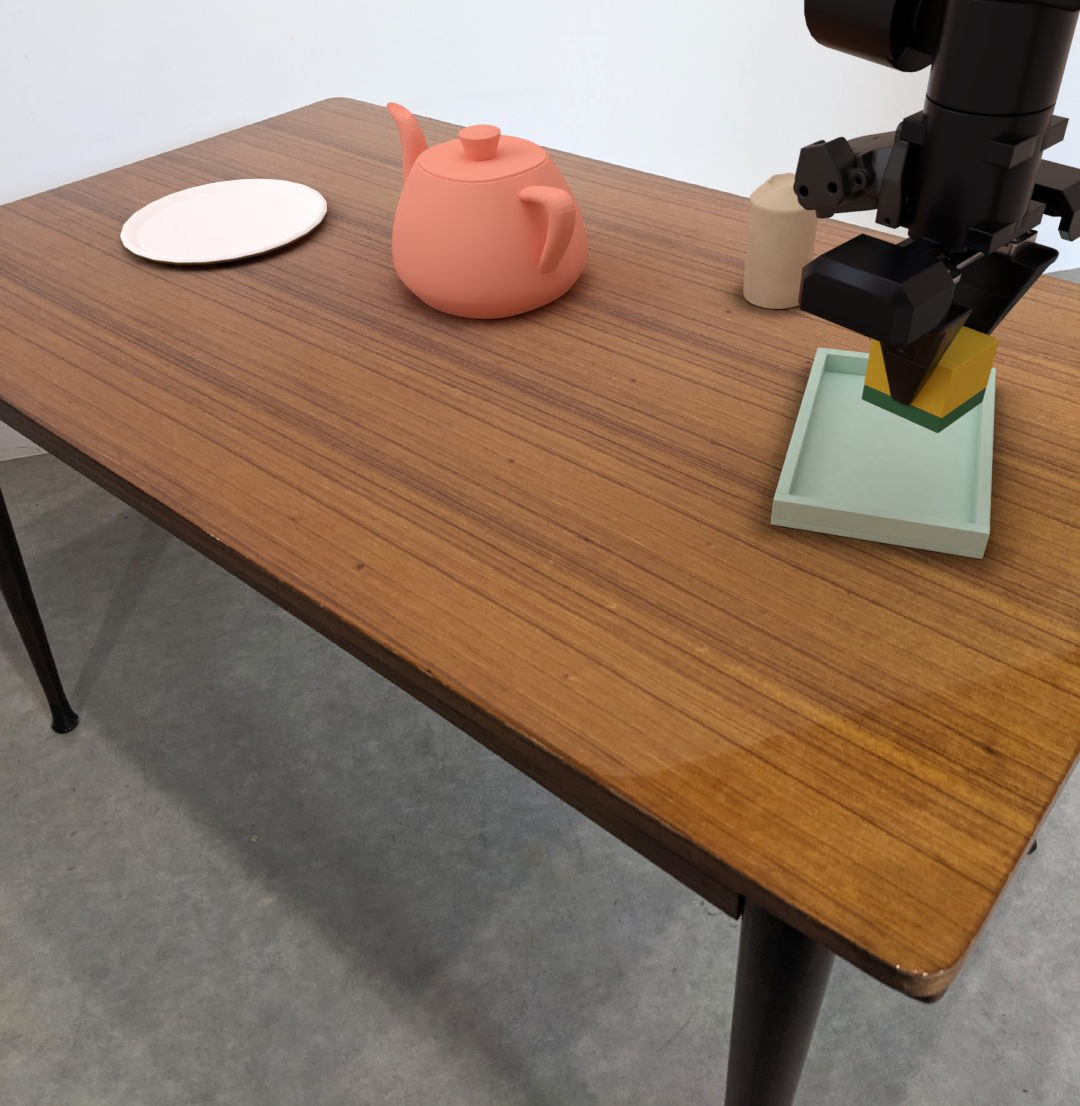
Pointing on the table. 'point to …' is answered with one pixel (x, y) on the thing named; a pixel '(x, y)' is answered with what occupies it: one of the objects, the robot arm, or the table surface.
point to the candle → (777, 244)
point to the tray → (885, 467)
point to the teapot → (484, 223)
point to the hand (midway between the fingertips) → (926, 385)
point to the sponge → (938, 382)
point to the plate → (224, 221)
